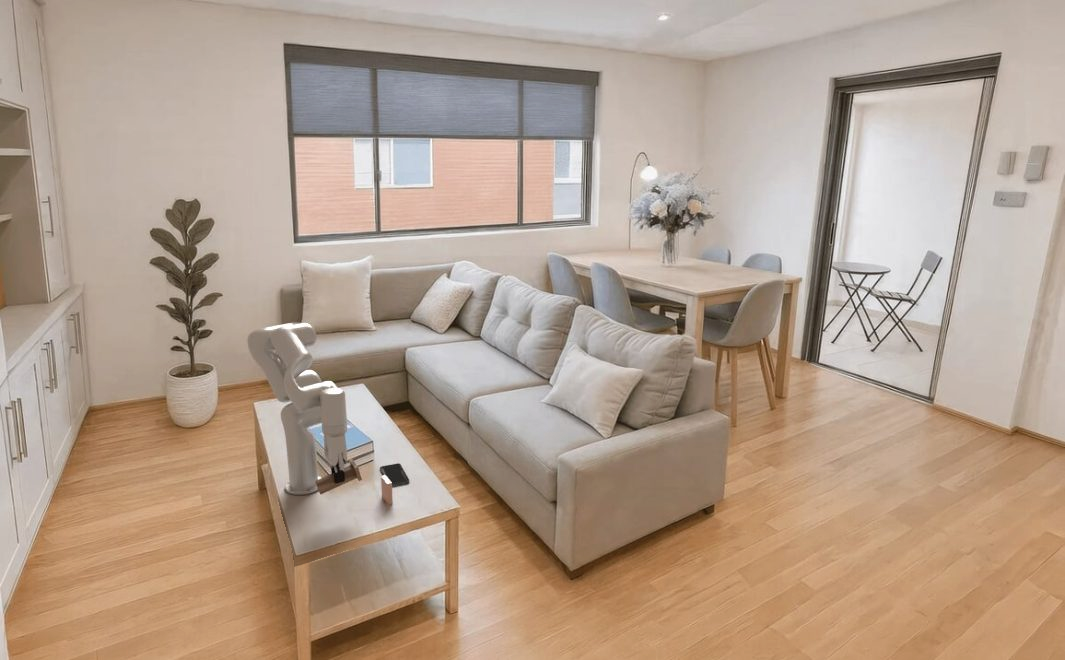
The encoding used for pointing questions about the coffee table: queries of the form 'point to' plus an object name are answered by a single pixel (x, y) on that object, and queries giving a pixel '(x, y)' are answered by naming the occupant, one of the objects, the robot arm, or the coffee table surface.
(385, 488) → the tile
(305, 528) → the coffee table surface
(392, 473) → the phone
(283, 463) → the coffee table surface
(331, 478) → the post on base stand
